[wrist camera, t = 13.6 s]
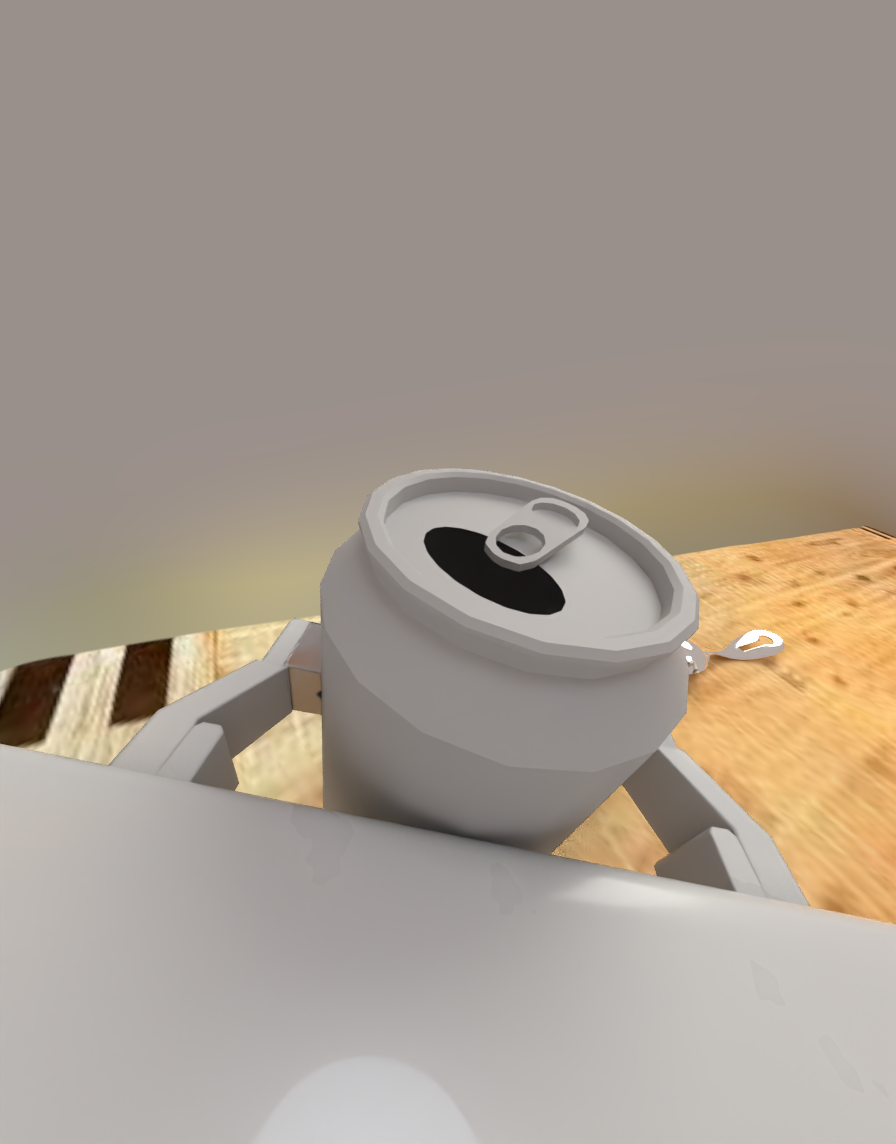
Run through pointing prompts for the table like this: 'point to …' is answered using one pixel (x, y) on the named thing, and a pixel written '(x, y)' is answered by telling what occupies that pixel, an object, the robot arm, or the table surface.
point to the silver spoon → (731, 650)
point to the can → (496, 657)
